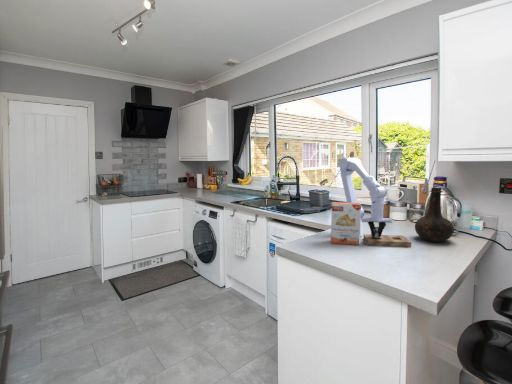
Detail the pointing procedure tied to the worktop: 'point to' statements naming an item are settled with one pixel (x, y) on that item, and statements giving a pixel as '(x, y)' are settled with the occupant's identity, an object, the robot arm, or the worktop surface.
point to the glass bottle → (434, 221)
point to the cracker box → (345, 223)
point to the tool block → (387, 241)
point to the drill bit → (376, 233)
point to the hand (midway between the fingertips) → (376, 236)
